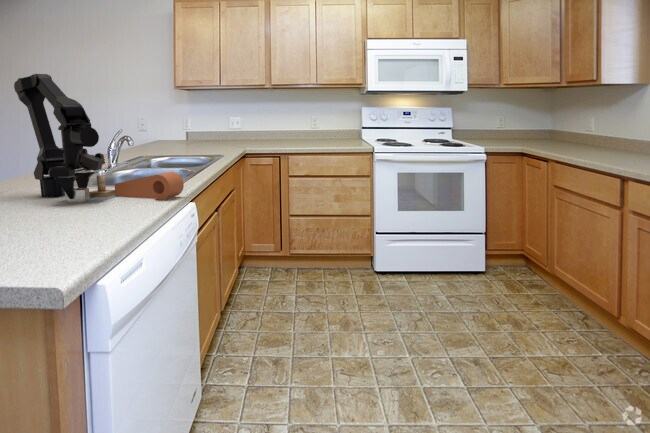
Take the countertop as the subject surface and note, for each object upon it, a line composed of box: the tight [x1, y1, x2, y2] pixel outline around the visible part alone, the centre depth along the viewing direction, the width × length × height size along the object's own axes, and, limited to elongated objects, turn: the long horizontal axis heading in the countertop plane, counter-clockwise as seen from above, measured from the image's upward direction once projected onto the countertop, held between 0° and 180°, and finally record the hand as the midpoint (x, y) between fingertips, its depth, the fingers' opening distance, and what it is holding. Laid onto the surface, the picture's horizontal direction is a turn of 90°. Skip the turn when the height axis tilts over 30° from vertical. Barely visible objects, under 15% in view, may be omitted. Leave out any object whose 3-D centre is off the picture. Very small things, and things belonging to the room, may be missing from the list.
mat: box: [56, 195, 118, 204], centre depth 179 cm, size 13×17×1 cm
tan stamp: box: [89, 174, 115, 197], centre depth 183 cm, size 6×6×6 cm
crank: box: [114, 171, 184, 201], centre depth 182 cm, size 20×8×8 cm, turn 72°
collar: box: [64, 187, 90, 202], centre depth 175 cm, size 6×6×4 cm
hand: (77, 197), depth 175 cm, fingers open, 7 cm apart
